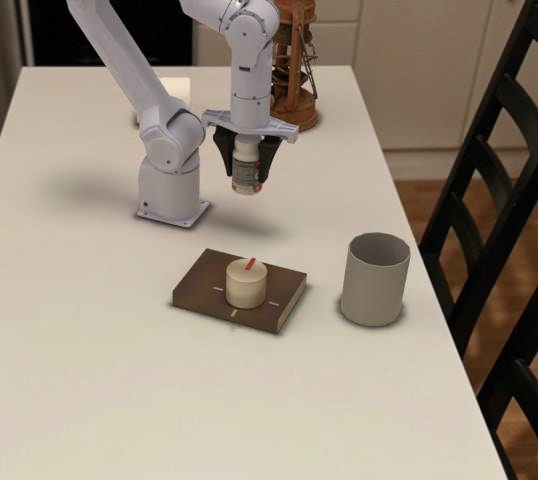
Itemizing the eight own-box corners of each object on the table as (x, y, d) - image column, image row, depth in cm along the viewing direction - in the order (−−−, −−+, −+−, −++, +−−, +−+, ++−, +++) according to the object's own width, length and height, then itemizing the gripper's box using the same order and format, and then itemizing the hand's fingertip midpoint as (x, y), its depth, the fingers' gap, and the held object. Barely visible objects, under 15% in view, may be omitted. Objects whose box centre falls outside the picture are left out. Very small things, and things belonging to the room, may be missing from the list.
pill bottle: (260, 197, 139) (262, 146, 133) (229, 195, 140) (230, 144, 134) (264, 182, 142) (266, 131, 137) (234, 179, 143) (235, 129, 137)
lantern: (244, 98, 179) (251, -68, 159) (310, 96, 180) (325, -70, 159) (255, 139, 167) (264, -35, 146) (325, 136, 168) (344, -37, 147)
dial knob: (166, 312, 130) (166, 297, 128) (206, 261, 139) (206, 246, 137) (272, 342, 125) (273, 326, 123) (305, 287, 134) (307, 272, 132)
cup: (404, 297, 132) (415, 238, 125) (394, 331, 127) (405, 271, 120) (346, 286, 134) (355, 227, 127) (334, 319, 129) (342, 259, 122)
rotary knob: (257, 312, 126) (258, 284, 122) (219, 302, 127) (220, 274, 124) (271, 290, 129) (273, 262, 126) (234, 281, 131) (235, 253, 128)
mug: (190, 130, 170) (190, 88, 164) (137, 131, 170) (135, 89, 164) (189, 101, 179) (188, 61, 173) (137, 102, 178) (136, 61, 173)
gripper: (308, 88, 131) (301, 174, 140) (214, 71, 135) (213, 156, 144) (291, 108, 126) (285, 195, 135) (195, 91, 130) (196, 177, 140)
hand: (247, 177), depth 140 cm, fingers closed on pill bottle, 5 cm apart
